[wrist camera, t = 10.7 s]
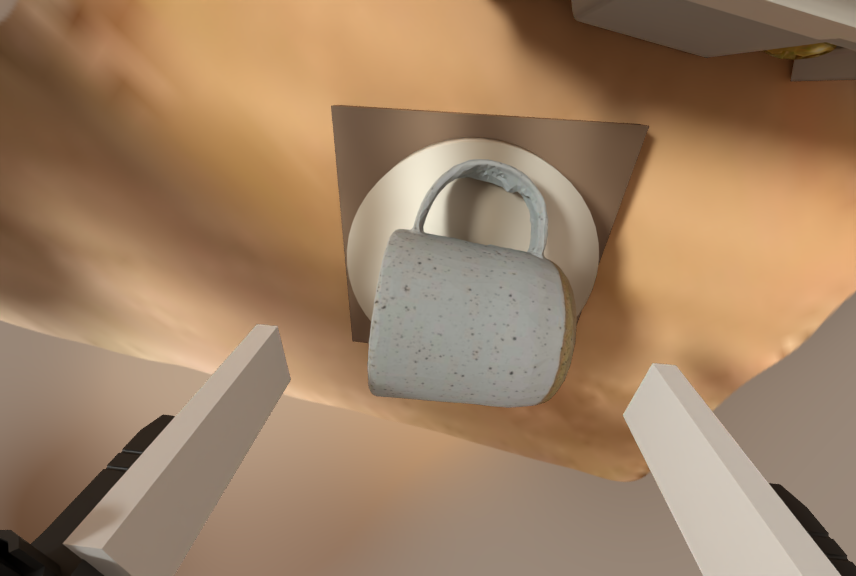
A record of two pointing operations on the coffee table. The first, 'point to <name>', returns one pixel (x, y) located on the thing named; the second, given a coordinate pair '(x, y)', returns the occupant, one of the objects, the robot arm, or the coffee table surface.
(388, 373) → the ceramic mug
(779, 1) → the electrical outlet
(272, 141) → the coffee table surface
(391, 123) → the pedestal
